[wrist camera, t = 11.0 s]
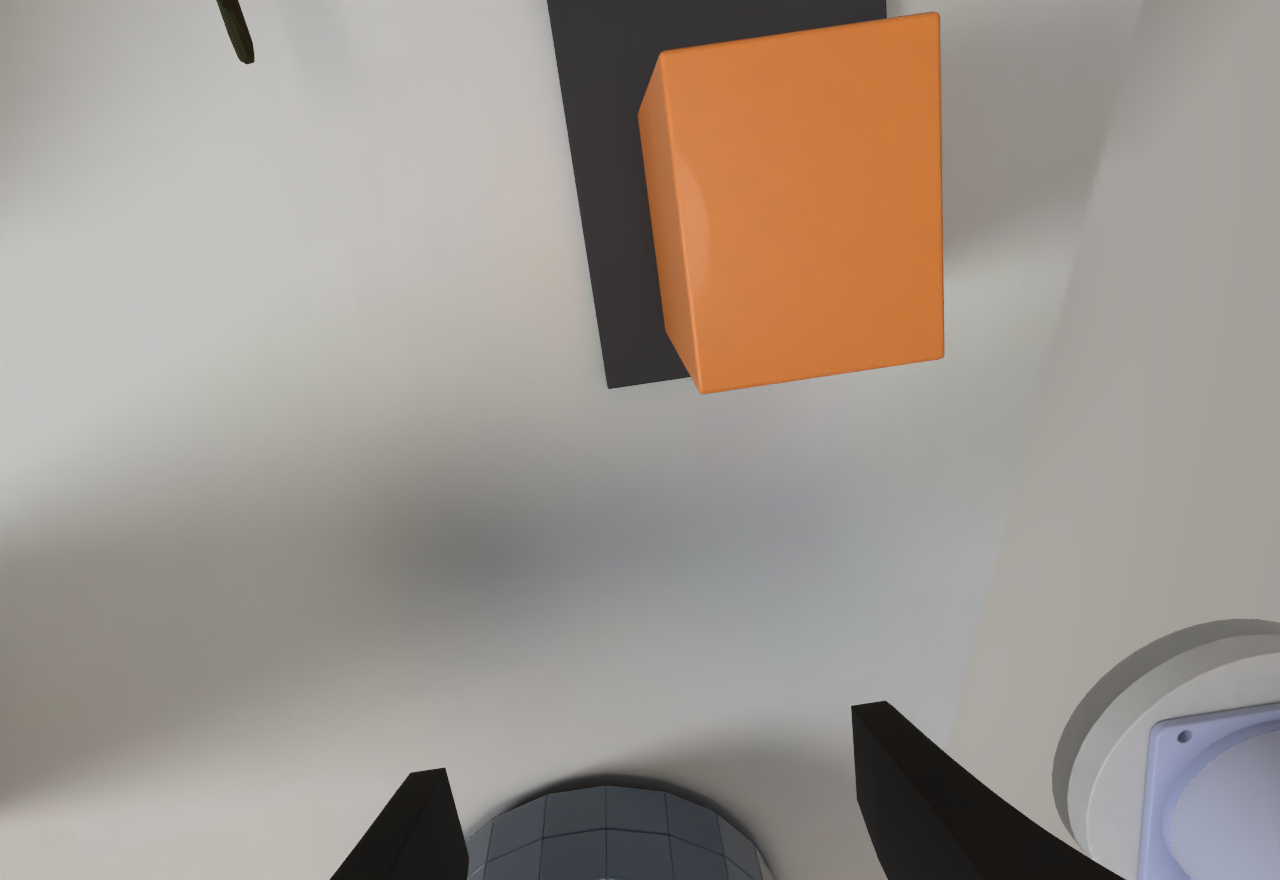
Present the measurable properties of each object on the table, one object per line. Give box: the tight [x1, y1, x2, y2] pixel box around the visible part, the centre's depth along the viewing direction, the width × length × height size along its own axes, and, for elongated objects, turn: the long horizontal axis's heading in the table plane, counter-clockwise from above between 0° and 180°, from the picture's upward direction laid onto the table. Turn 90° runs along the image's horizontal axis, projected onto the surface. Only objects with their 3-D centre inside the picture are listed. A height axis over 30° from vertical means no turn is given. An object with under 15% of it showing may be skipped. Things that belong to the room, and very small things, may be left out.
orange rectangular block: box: [638, 12, 944, 394], centre depth 15 cm, size 4×6×7 cm
